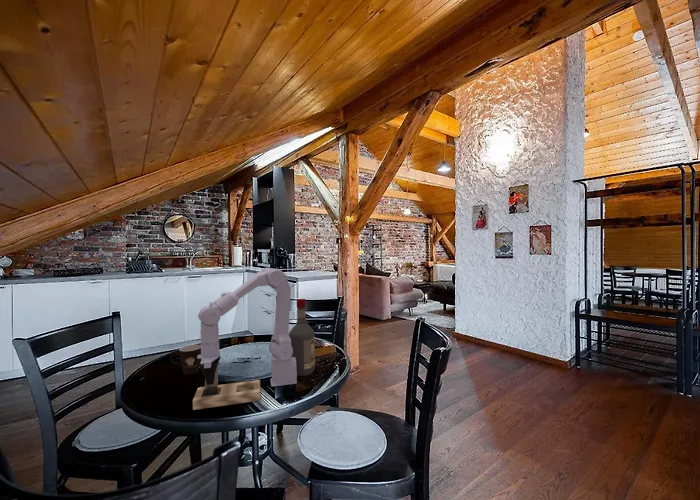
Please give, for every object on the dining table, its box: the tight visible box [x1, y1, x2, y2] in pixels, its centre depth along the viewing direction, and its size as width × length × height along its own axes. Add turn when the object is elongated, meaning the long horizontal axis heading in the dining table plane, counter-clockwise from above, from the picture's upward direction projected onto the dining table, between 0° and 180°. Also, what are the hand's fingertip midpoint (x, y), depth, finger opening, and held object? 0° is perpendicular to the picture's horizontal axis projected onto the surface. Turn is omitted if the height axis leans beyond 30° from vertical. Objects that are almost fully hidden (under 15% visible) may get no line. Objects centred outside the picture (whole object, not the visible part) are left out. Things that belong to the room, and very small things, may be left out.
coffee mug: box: [169, 344, 202, 375], centre depth 138 cm, size 12×9×10 cm
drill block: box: [192, 379, 261, 411], centre depth 113 cm, size 21×10×3 cm, turn 106°
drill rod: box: [204, 362, 219, 396], centre depth 112 cm, size 4×4×10 cm
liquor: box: [288, 298, 316, 377], centre depth 135 cm, size 9×9×30 cm
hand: (211, 381), depth 112 cm, fingers closed on drill rod, 4 cm apart
